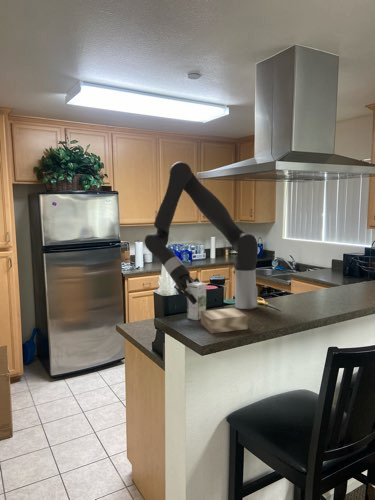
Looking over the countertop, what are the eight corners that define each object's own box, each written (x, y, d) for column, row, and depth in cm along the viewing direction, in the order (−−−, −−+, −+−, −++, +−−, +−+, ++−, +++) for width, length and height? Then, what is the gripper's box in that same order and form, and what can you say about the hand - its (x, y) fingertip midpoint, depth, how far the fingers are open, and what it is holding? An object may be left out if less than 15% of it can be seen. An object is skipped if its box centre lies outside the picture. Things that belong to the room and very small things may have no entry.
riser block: (234, 320, 144) (234, 307, 144) (247, 328, 133) (247, 315, 132) (200, 323, 140) (200, 311, 140) (211, 333, 129) (211, 319, 128)
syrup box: (195, 315, 152) (194, 281, 151) (206, 317, 148) (206, 282, 147) (186, 318, 148) (186, 283, 146) (198, 321, 144) (197, 285, 143)
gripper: (170, 266, 145) (194, 299, 139) (192, 262, 156) (215, 292, 150) (160, 278, 149) (184, 310, 143) (182, 273, 160) (205, 303, 154)
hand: (200, 301), depth 146 cm, fingers closed on syrup box, 5 cm apart
